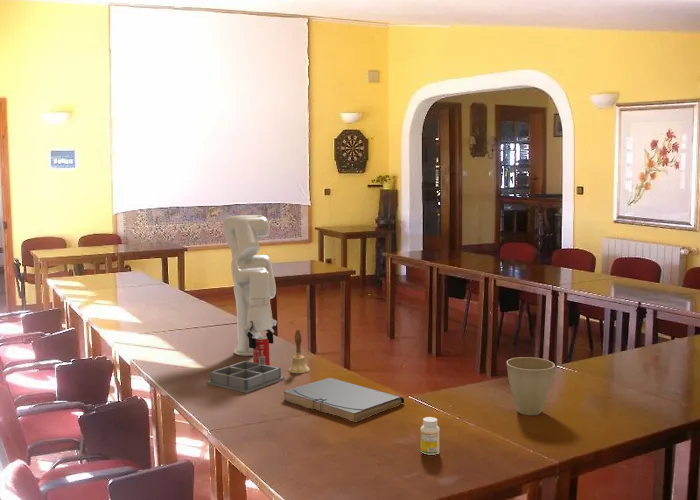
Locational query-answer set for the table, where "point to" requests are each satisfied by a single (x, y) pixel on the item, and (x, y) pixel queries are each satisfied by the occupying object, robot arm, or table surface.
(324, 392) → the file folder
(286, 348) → the table surface
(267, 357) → the beverage can
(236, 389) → the drink carrier
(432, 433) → the supplement bottle
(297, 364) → the hand bell
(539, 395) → the plant pot
